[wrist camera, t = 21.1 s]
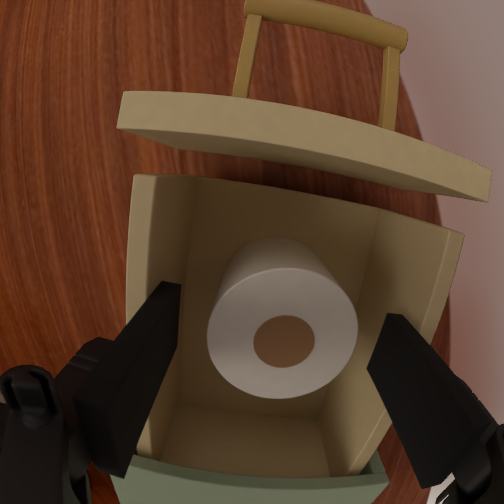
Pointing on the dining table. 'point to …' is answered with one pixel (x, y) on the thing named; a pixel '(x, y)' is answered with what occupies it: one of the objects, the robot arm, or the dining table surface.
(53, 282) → the dining table surface
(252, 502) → the cabinet
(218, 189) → the drawer
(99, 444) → the robot arm
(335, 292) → the paper roll
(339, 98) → the dining table surface
